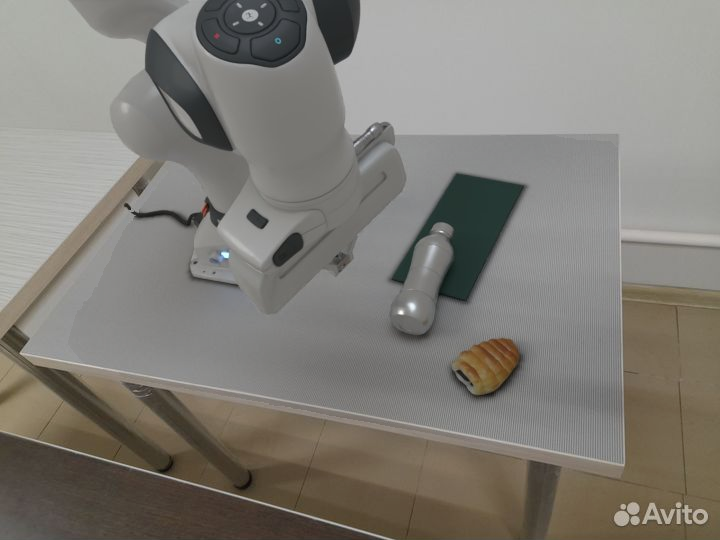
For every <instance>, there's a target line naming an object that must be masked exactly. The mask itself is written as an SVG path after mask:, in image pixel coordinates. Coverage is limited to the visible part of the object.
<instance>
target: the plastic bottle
mask: <svg viewBox="0 0 720 540" xmlns="http://www.w3.org/2000/svg"><path fill="white" fill-rule="evenodd" d="M453 235H454V229H453V228H452V227H451V226H450V225H449V224H446V223H442V222H439V223H436V224H434V226H433V228H432V230H431V231H430V233H429V236H426V237H424V238H422V239H421V240H420V241H419V242H418V243H417V244H416V246H415V249H414V252H413V257H412V262H411V266H410V269H409V273H408V275H407V278H406V281H405V283H403V284H402V287H401V288H400V290H399V293H397V295H396V296H395V298H394V299H393V301H392V303H391V305H390V308H389V315H388V316H389V320H390V323H391V324H392V326H393V327H395V328H396V329H397V330H398V331H401V332H402V333H405V334H408V335H412V336H420V335H423V334H425V333H426V332H428V331H429V330H430V328H431V327H432V325H433V323H434V320H435V316H436V315H435V314H436V307H437V302H438V297H439V290H440V287H441V285H442V283H443V280H444V278H445V276H446V274H447V272H448V270H449V268H450V266H451V265H452V263H453V260H454V250H453V247H452V245H451V242H452V240H453Z"/></svg>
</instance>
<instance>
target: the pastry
mask: <svg viewBox="0 0 720 540" xmlns="http://www.w3.org/2000/svg"><path fill="white" fill-rule="evenodd" d="M519 360H520V351H519V348H518V346H517V344H515V343H514V341H513V339H511V338H504V337H501V338H490V339H488V340H487V341H483V340H482V341H480V342H479V343H478V344H473V345H471V347H470V348H469V349H468V350H463V351H461V352H460V353H459V355H458V357H457V358H456V359H455V360H454V361H452V363H451V370H452V371H453V372H454V373H455V375H456V378H457V379H458V380H459V381H460V382H461V383H462V384H464V385H465V386H466V388H467V390H468V391H469V392H470V393H471V394H472V395H475V396H483V395H487V394H490V393H493V392H494V391H496V390H498V389H499V388H500V387H501V385H503V384H504V383H505V381H506V380H507V379H508V378H509V377H510V375H511V373H513V371H514V370H515V368H516V367H517V365H518V363H519Z"/></svg>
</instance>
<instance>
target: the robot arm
mask: <svg viewBox="0 0 720 540" xmlns="http://www.w3.org/2000/svg"><path fill="white" fill-rule="evenodd" d="M68 1H69V3H70V4H71V5H72V6H73V8H75V10H76V11H77V12H78V14H79V15H80V16H81V17H82V18H83V19H84V21H85V22H86V23H87V24H88V25H89V27H90V28H91V29H93V30H94V31H95V32H96V33H98V34H100V35H102V36H104V37H106V38H109V39H114V40H115V39H116V40H126V39H132V40H135V41H138V42H141V43H143V44H145V51H144V68H143V69H142V70H140V71H139V72H138V73H136V74H135V75H133V76H132V77H131V78H130V79H129V80H128V82H127V83H126V84H124V86H123V87H122V88H121V90H120V91H119V92H118V93H117V95H116V96H115V98H114V99H113V100H112V102H110V105H109V116H110V122H111V125H112V128H113V130H114V132H115V134H116V136H117V138H118V139H119V140H120V141H121V142H122V144H123V145H124V146H125V147H126V148H127V149H128V150H130V151H131V152H132V153H134V154H136V155H137V156H139V157H142V158H144V159H145V160H148V161H149V160H150V161H153V162H171V163H175V164H178V165H180V166H183V167H184V168H185V169H187V170H188V171H189V172H190V173H191V174H192V175H193V176H194V178H195V179H196V181H197V182H198V184H199V186H200V187H201V189H202V190H203V191H204V193H205V195H206V197H205V198H204V201H203V202H204V205H203V207H202V209H201V211H199V212H198V211H197V212H193V213H191V214H190V215H189V216H188V218H187V220H185V219H183V218H182V217H181V216H180V215H178V214H177V213H176V212H174V211H171V210H167V209H160V210H154V211H149V212H137V211H135V210H134V212H130V213H131V214H132V215H134V216H135V217H141V218H142V217H143V218H144V217H151V216H157V215H162V214H163V215H171V216H172V217H174V218H175V219H176V220H177V221H179V223H181V224H183V225H186V226H187V225H190V224H191V223H192V222H193V223H194V225H195V227H196V231H195V233H194V237H193V251H192V255H191V258H190V264H189V267H190V272H191V275H192V276H193V277H195V278H198V279H202V280H203V279H204V280H209V281H214V282H221V283H225V284H231V285H237V286H238V288H239V289H240V291H241V292H242V293H243V295H244V296H245V297H246V299H247V300H249V302H250V303H252V304H253V305H254V307H256V309H258V310H259V311H260V312H262V313H263V314H265V315H267V316H269V315H276V314H278V313H279V312H280V311H281V310H282V309H283V308H284V307H285V306H286V305H287V304H288V303H289V302H290V301H291V300H293V298H294V297H296V296H297V295H298V294H299V292H301V290H303V289H304V287H306V286H307V284H308V283H310V282H311V281H312V280H313V279H314V278H315V277H316V276H317V275H318V274H319V273H320V272H321V271H322V270H324V271H325V270H326V271H327V273H329V274H330V275H332V277H335V278H337V277H338V275H339V274H340V273H341V272H342V271H343V270H345V268H346V267H347V266H348V265H349V264H350V263H352V261H353V260H354V259H355V257H354V254H353V251H354V248H355V246H356V242H357V239H358V235H359V234H360V233H361V232H362V231H364V229H365V228H366V227H367V226H368V225H369V224H370V223H372V221H373V220H374V219H375V218H376V217H377V216H378V215H380V214H381V213H382V212H383V210H384V209H386V208H387V207H388V206H389V205H390V204H391V203H392V202H393V201H394V200H395V199H396V198H397V197H398V196H399V195H400V194H401V193H402V192H403V190H404V188H405V186H406V182H407V173H406V169H405V165H404V163H403V159H402V157H401V154H400V151H399V150H398V148H397V147H396V146H395V144H396V135H395V129H394V126H393V125H392V124H391V123H390V122H388V121H381V122H378V121H377V122H374V123H372V124H371V125H370V126H368V127H367V128H366V130H365V132H363V133H362V134H361V135H360V136H358V137H357V138H355V139H354V140H353V139H352V137H351V134H350V133H349V131H348V130H347V129H346V127H345V123H346V105H345V101H344V96H343V92H342V89H341V85H340V81H339V77H338V74H337V71H336V70H337V69H336V68H335V66H336V65H337V64H339V63H341V62H343V61H344V60H346V59H348V58H349V57H350V56H351V54H352V52H353V50H354V47H355V44H356V42H357V38H358V34H359V31H360V30H359V29H360V22H361V0H191V1H190V0H68ZM123 207H124V208H126V209H127V210H128V211H129V210H131V208H132V206H131V205H130V204H129V203H128V202H125V203H124V204H123Z"/></svg>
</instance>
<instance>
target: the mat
mask: <svg viewBox="0 0 720 540" xmlns="http://www.w3.org/2000/svg"><path fill="white" fill-rule="evenodd" d="M523 189H524V184H518V183H513V182H507V181H501V180H496V179H490V178H485V177H481V176H474V175H468V174H463V173H455V175H454V176H453V178H452V180H451V182H450V183H449V185H448V187H447V188H446V190H445V191H444V193H443V195H442V196H441V198H440V199H439V201H438V203H437V204H436V206H435V208H434V209H433V210H432V212H431V214H430V215H429V217H428V219H427V221H426V222H425V224H424V225H423V226H422V228H421V230H420V231H419V233H418V235H417V236H416V238H415V240H414V241H413V243H412V244H411V246H410V247H409V250H408V251H407V253H406V254H405V256H404V257H403V259H402V261H401V262H400V264H399V266H398V267H397V269H396V270H395V272H394V274H393V275H392V277H391V280H392V281H395V282H399V283H403V284H404V283H405V281H406V278H407V275H408V273H409V269H410V266H411V262H412V257H413V252H414V249H415V246H416V244H417V243H418V242H419V241H420V240H421V239H422V238H424V237H426V236H429V233H430V231H431V230H432V228H433V226H434V224H436V223H439V222H442V223H446V224H449V225H450V226H451V227H452V228H453V229H454V235H453V240H452V242H451V245H452V247H453V250H454V260H453V263H452V265H451V266H450V268H449V270H448V272H447V274H446V276H445V278H444V280H443V283H442V285H441V287H440V290H439V293H438V295H439V294H440V295H443V296H446V297H450V298H453V299H456V300H460V301H463V302H466V301H467V299H468V297H469V295H470V293H471V291H472V289H473V287H474V285H475V283H476V281H477V279H478V277H479V276H480V273H481V272H482V269H483V268H484V266H485V264H486V262H487V260H488V258H489V256H490V254H491V252H492V250H493V248H494V246H495V244H496V242H497V240H498V238H499V236H500V234H501V232H502V230H503V228H504V226H505V224H506V222H507V220H508V218H509V216H510V214H511V212H512V210H513V208H514V206H515V204H516V202H517V201H518V198H519V196H520V194H521V193H522V191H523Z"/></svg>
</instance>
